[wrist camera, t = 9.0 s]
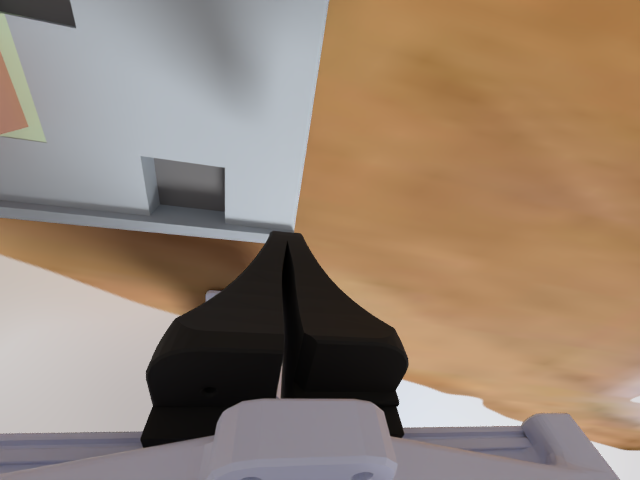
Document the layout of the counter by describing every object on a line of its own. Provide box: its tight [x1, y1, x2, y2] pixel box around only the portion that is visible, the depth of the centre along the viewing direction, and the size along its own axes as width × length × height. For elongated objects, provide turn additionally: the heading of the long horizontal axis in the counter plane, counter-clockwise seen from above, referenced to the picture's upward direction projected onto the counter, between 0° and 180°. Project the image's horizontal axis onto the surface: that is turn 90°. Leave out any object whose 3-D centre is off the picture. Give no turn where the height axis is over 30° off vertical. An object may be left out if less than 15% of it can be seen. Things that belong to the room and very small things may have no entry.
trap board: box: [0, 0, 329, 243], centre depth 16 cm, size 16×22×3 cm
